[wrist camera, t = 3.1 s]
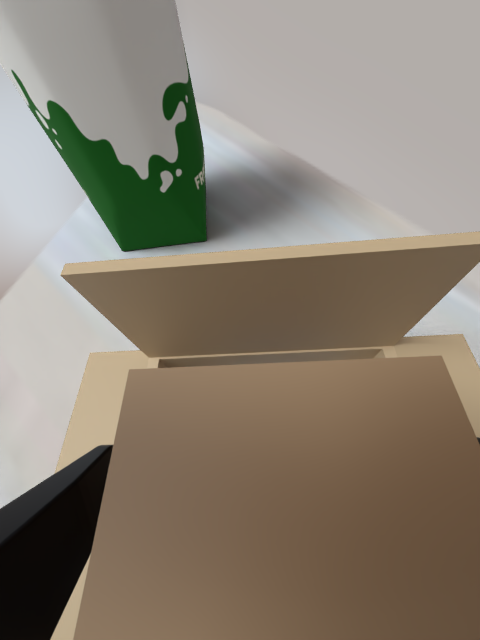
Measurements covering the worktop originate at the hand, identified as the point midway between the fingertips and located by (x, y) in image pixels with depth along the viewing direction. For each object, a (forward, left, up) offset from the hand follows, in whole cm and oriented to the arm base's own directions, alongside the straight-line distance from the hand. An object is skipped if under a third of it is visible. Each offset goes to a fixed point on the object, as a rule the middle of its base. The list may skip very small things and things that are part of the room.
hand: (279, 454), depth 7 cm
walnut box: (-1, 0, -7) cm, 7 cm away
